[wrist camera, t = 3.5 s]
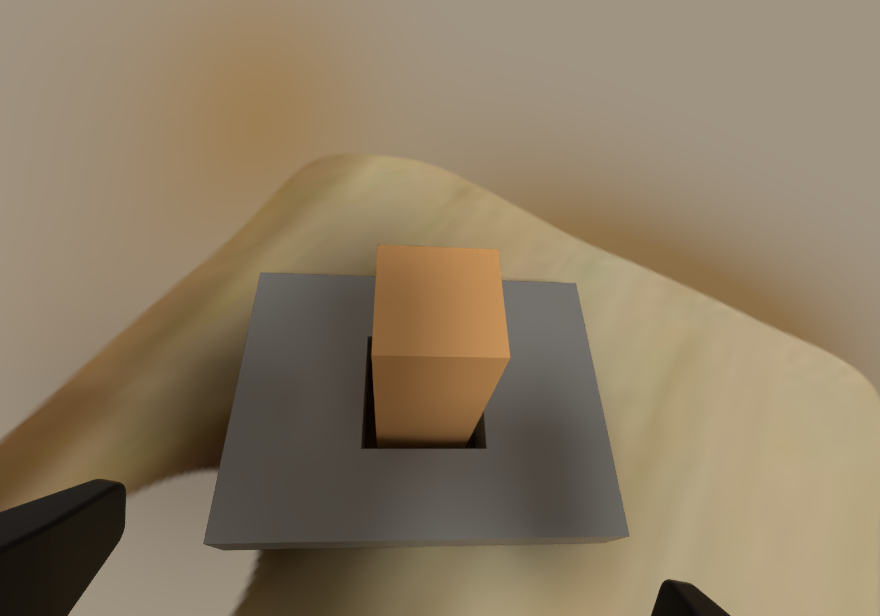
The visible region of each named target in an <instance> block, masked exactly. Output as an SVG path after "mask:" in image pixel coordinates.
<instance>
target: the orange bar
mask: <svg viewBox="0 0 880 616" xmlns="http://www.w3.org/2000/svg"><path fill="white" fill-rule="evenodd" d="M509 360H510V350H509V341H508V332H507V324H506V315H505V306H504V297H503V288H502V280H501V271H500V262H499V253H498V249H474V248H449V247H424V246H399V245H378V246H377V264H376V282H375V301H374V319H373V337H372V372H373V388H374V404H375V420H376V436H377V449H464V448H465V447H466V445H467V443H468V441H469V439H470V437H471V435H472V433H473V431H474V429H475V427H476V425H477V423H478V421H479V419H480V417H481V415H482V413H483V411H484V409H485V407H486V405H487V403H488V401H489V399H490V397H491V395H492V393H493V391H494V389H495V387H496V385H497V383H498V381H499V379H500V377H501V375H502V373H503V372H504V370H505V368H506V366H507V364H508V362H509Z"/></svg>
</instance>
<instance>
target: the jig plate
mask: <svg viewBox="0 0 880 616" xmlns="http://www.w3.org/2000/svg"><path fill="white" fill-rule="evenodd" d="M375 282H376V276H347V275H318V274H288V273H260V277H259V282H258V287H257V292H256V296H255V301H254V306H253V311H252V315H251V320H250V325H249V330H248V334H247V339H246V344H245V349H244V353H243V358H242V363H241V368H240V372H239V377H238V382H237V387H236V391H235V396H234V401H233V406H232V410H231V415H230V420H229V425H228V429H227V434H226V439H225V444H224V448H223V453H222V458H221V463H220V467H219V472H218V477H217V482H216V487H215V492H214V496H213V501H212V505H211V510H210V515H209V520H208V524H207V529H206V534H205V539H204V544H205V545H208V546H211V547H215V548H218V549H221V550H264V549H316V548H368V547H419V546H471V545H523V544H574V543H606V542H610V541H614V540H617V539H621V538H625V537H629V532H628V527H627V523H626V518H625V513H624V508H623V504H622V499H621V494H620V489H619V485H618V480H617V475H616V471H615V466H614V461H613V456H612V452H611V447H610V442H609V437H608V433H607V428H606V423H605V419H604V414H603V409H602V404H601V400H600V395H599V390H598V385H597V381H596V376H595V371H594V366H593V362H592V357H591V352H590V348H589V343H588V338H587V333H586V329H585V324H584V319H583V314H582V310H581V305H580V300H579V296H578V291H577V286H576V283H556V282H526V281H502V288H503V297H504V306H505V315H506V324H507V332H508V341H509V350H510V360H509V362H508V364H507V366H506V368H505V370H504V372H503V373H502V375H501V377H500V379H499V381H498V383H497V385H496V387H495V389H494V391H493V393H492V395H491V397H490V399H489V401H488V403H487V405H486V407H485V409H484V411H483V413H482V415H481V417H480V419H479V421H478V423H477V425H476V427H475V439H476V449H364V445H365V428H366V410H367V393H368V375H369V359H372V337H373V319H374V301H375Z"/></svg>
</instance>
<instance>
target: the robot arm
mask: <svg viewBox="0 0 880 616" xmlns="http://www.w3.org/2000/svg"><path fill="white" fill-rule="evenodd" d="M125 507H126V489H125V486H124V485H123V484H122V483H120V482H116V481H110V480H105V479H95V480H92V481H89V482H86V483H83V484H80V485H77V486H74V487H71V488H69V489H66V490H63V491H60V492H57V493H54V494H51V495H48V496H45V497H42V498H40V499H37V500H34V501H31V502H28V503H25V504H22V505H19V506H16V507H13V508H11V509H8V510H5V511H2V512H0V616H68V614H69V613H70V611H71V610H72V608H73V607H74V606H75V604H76V603H77V601H78V600H79V598H80V597H81V596H82V594H83V593H84V591H85V590H86V588H87V587H88V586H89V584H90V583H91V581H92V580H93V578H94V577H95V575H96V574H97V573H98V571H99V570H100V568H101V567H102V565H103V564H104V563H105V561H106V560H107V558H108V557H109V555H110V554H111V552H112V551H113V550H114V548H115V547H116V545H117V544H118V542H119V541H120V539H121V537H122V534H123V532H124V528H125ZM651 616H730V615H729V614H728V613H727V612H725V611H724V610H723V609H722V608H721V607H719V606H718V605H717V604H716V603H715V602H713V601H712V600H711V599H710V598H709V597H707V596H706V595H705V594H704V593H703V592H701V591H700V590H699V589H698V588H696V587H695V586H694V585H693V584H690V583H687V582H682V581H676V580H671V579H668V580H665V581H664V582H663V583H662V585H661V587H660V590H659V593H658V596H657V599H656V602H655V605H654V608H653V611H652V614H651Z"/></svg>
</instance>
